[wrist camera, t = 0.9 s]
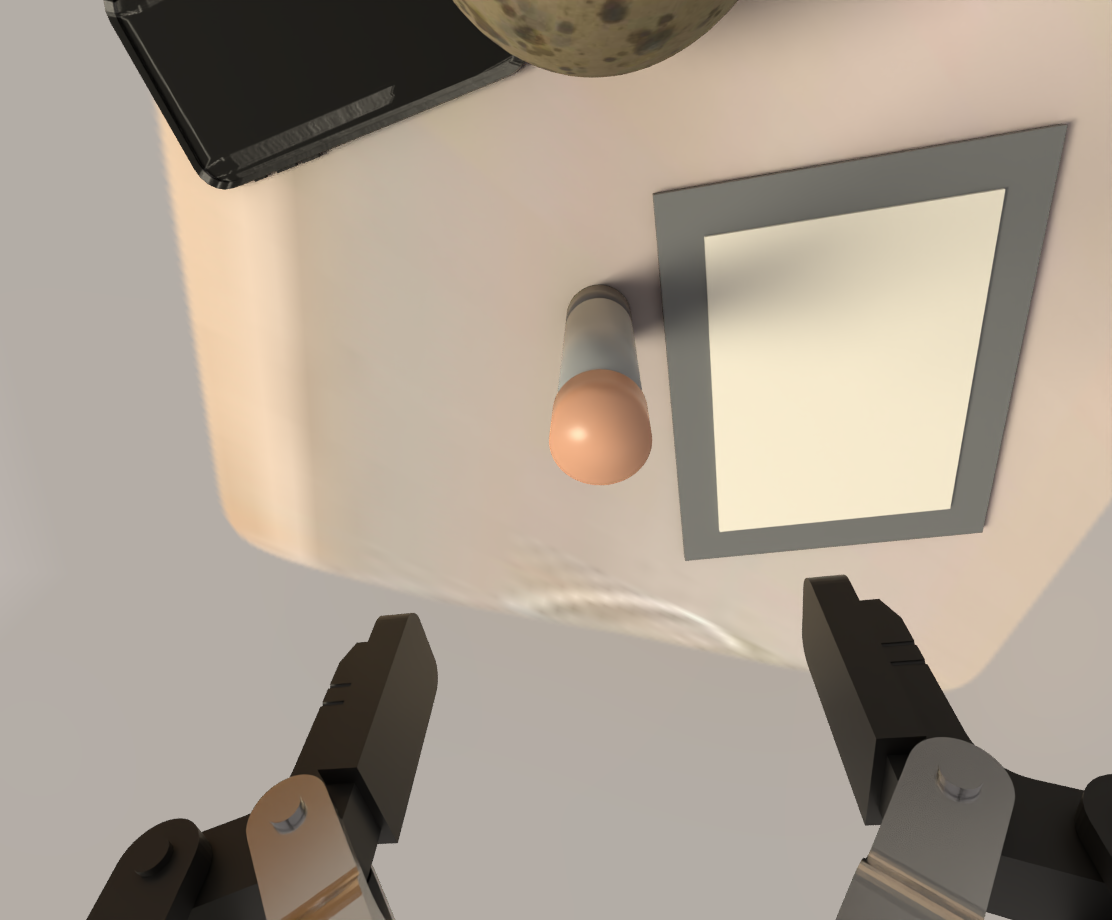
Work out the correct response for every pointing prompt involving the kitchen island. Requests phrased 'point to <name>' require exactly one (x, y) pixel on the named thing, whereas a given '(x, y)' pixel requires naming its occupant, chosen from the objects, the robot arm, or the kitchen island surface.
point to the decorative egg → (594, 31)
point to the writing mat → (849, 341)
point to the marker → (599, 392)
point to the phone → (297, 73)
